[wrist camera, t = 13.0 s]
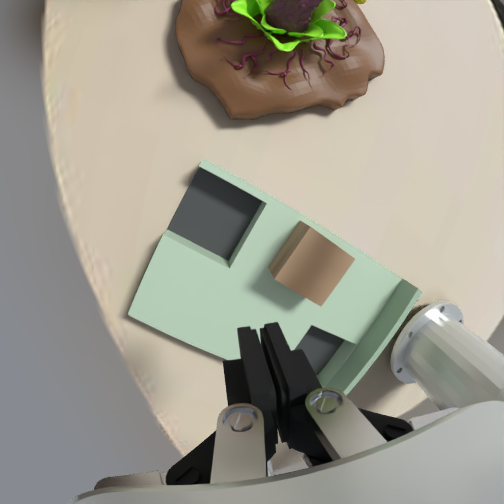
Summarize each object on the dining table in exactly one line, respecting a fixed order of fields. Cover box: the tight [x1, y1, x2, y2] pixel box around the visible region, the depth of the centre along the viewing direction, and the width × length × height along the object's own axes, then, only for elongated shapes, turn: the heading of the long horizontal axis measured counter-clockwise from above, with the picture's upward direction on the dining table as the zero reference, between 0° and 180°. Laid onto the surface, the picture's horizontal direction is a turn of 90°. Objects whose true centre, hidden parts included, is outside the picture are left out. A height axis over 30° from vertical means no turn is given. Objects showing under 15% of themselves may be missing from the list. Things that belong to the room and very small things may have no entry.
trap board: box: [128, 158, 422, 396], centre depth 27 cm, size 24×16×6 cm, turn 60°
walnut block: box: [268, 221, 355, 306], centre depth 25 cm, size 5×5×3 cm
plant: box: [176, 0, 385, 120], centre depth 17 cm, size 20×20×11 cm
